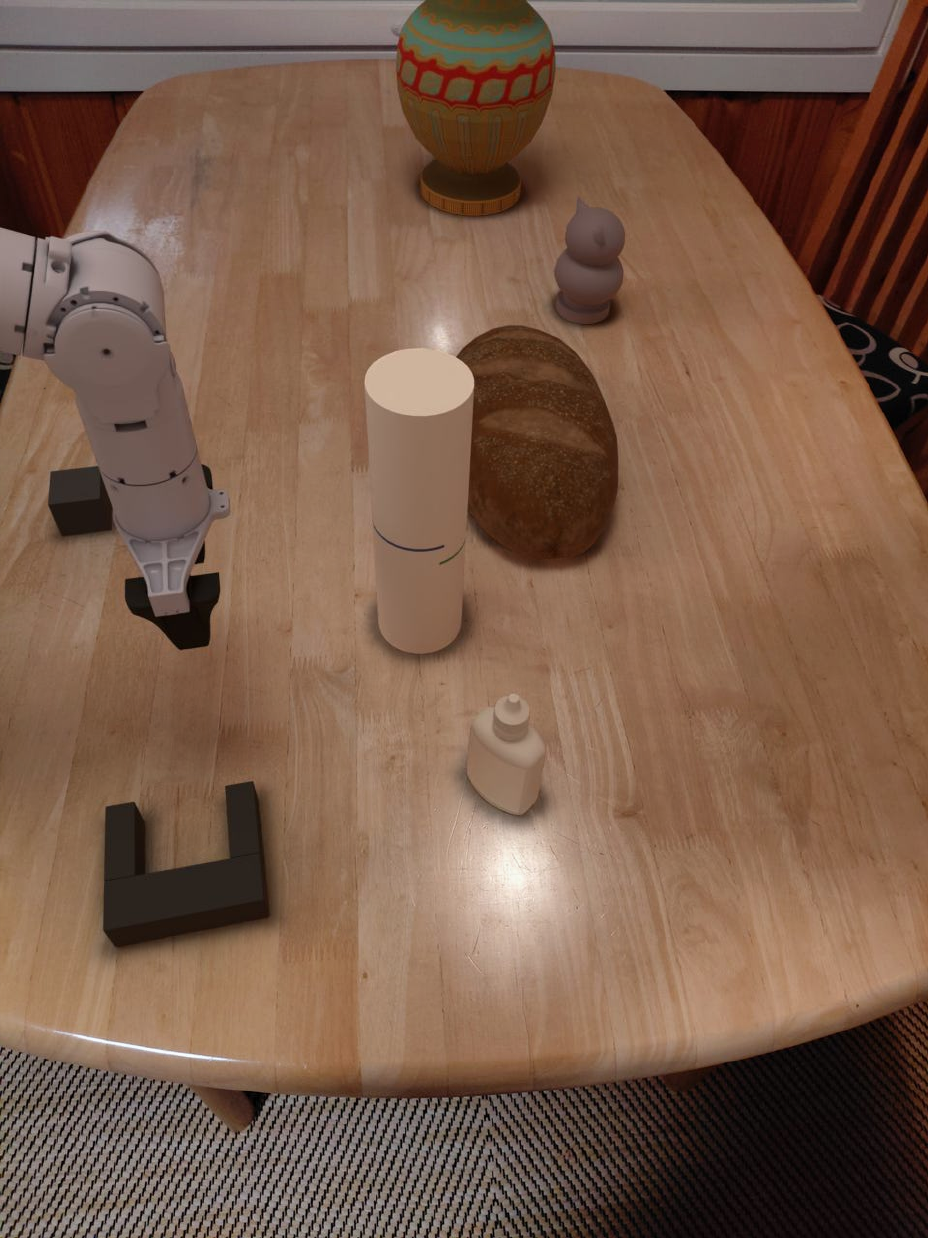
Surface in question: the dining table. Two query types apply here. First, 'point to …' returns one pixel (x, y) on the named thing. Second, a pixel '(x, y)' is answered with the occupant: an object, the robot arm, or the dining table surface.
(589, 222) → the grey rounded figurine
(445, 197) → the vase
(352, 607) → the dining table surface
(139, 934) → the black u-shaped block
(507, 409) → the bread
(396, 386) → the cylindrical container
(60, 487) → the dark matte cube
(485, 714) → the eye dropper bottle
